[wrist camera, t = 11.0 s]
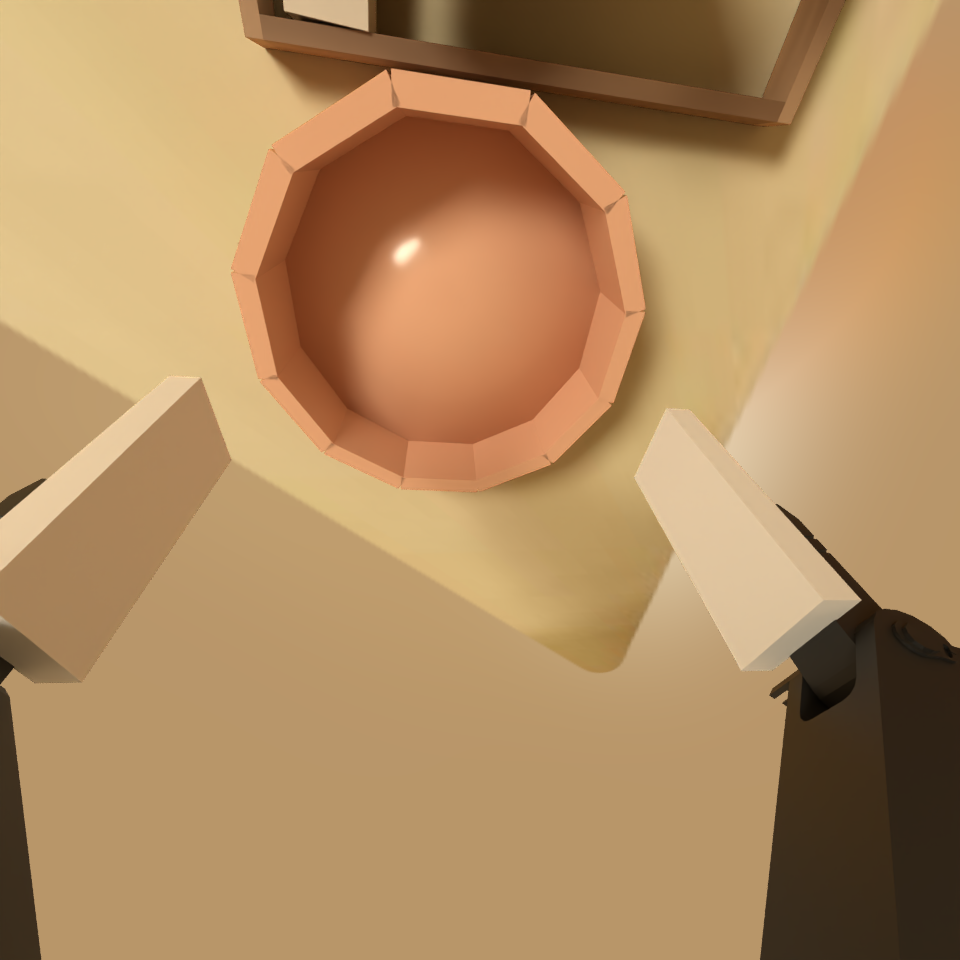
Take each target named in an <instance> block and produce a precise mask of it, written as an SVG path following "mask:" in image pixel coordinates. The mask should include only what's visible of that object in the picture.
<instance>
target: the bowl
mask: <svg viewBox="0 0 960 960" xmlns="http://www.w3.org/2000/svg"><path fill="white" fill-rule="evenodd" d="M530 93H531V90H525V89H519V88H512V87H506V86H500V85H493V84H487V83H481V82H474V81H468V80H462V79H455V78H449V77H443V76H437V75H430V74H424V73H418V72H411V71H405V70H399V69H392V68H391V76H390V74H389V73H388V71H387V70H384V71H383V72H381V73H380V74H378V75H377V76H375V77H374V78H372V79H371V80H369V81H368V82H366V83H365V84H363V85H362V86H360V87H359V88H357V89H356V90H354V91H353V92H351V93H350V94H348V95H347V96H345V97H343V98H342V99H340V100H339V101H337V102H336V103H334V104H333V105H331V106H330V107H328V108H327V109H325V110H324V111H322V112H321V113H319V114H318V115H316V116H315V117H313V118H312V119H310V120H309V121H307V122H306V123H304V124H303V125H301V126H300V127H298V128H297V129H295V130H293V131H292V132H290V133H289V134H287V135H286V136H284V137H283V138H281V139H280V140H278V141H277V142H275V143H274V144H272V147H273V148H274V149H269V150H268V153H267V156H266V159H265V162H264V166H263V169H262V172H261V175H260V178H259V181H258V185H257V188H256V191H255V194H254V197H253V200H252V204H251V207H250V210H249V213H248V216H247V219H246V223H245V226H244V229H243V232H242V235H241V238H240V242H239V245H238V248H237V251H236V254H235V257H234V261H233V264H232V267H231V269H232V270H234V271H233V272H232V273H231V275H232V279H233V283H234V287H235V291H236V294H237V298H238V302H239V306H240V310H241V314H242V318H243V321H244V325H245V329H246V333H247V337H248V341H249V345H250V349H251V352H252V356H253V360H254V364H255V368H256V372H257V376H258V379H262V380H261V381H260V382H261V383H262V385H263V386H264V387H265V388H266V389H267V390H268V391H269V393H270V394H271V395H272V396H273V397H274V398H275V399H276V401H277V402H278V403H279V404H280V405H281V406H282V407H283V409H284V410H285V411H286V412H287V413H288V414H289V415H290V417H291V418H292V419H293V420H294V421H295V422H296V423H297V425H298V426H299V427H300V428H301V429H302V430H303V431H304V433H305V434H306V435H307V436H308V437H309V438H310V439H311V441H312V442H313V443H314V444H315V445H316V446H317V447H318V449H319V450H320V451H321V452H323V451H325V453H324V454H325V455H327V456H330V457H332V458H334V459H336V460H338V461H340V462H343V463H345V464H347V465H349V466H351V467H353V468H355V469H358V470H360V471H362V472H364V473H366V474H368V475H370V476H373V477H375V478H377V479H379V480H381V481H383V482H385V483H388V484H390V485H392V486H394V487H396V488H399V487H400V486H401V489H410V490H436V491H461V492H477V490H478V489H479V491H483V490H486V489H488V488H491V487H494V486H496V485H499V484H502V483H504V482H507V481H509V480H512V479H515V478H517V477H520V476H523V475H525V474H528V473H531V472H533V471H536V470H539V469H541V468H544V467H546V466H549V465H551V463H550V461H551V462H552V463H554V462H555V461H556V460H557V459H558V458H559V457H560V456H561V455H562V454H563V453H564V452H565V451H566V450H567V449H568V448H569V447H570V446H571V445H572V444H573V443H574V442H575V441H576V440H577V439H578V438H579V437H580V436H581V435H582V434H583V433H585V432H586V431H587V430H588V429H589V428H590V427H591V426H592V425H593V424H594V423H595V422H596V421H597V420H598V419H599V418H600V417H601V416H602V415H603V414H604V413H605V412H606V411H607V410H608V409H609V408H610V407H611V406H612V405H611V403H614V400H615V397H616V395H617V392H618V389H619V386H620V383H621V380H622V378H623V375H624V372H625V369H626V366H627V363H628V360H629V358H630V355H631V352H632V349H633V346H634V343H635V340H636V338H637V335H638V332H639V329H640V326H641V323H642V321H643V318H644V315H645V312H644V311H643V310H644V309H646V308H645V302H644V296H643V290H642V284H641V277H640V271H639V265H638V259H637V253H636V247H635V241H634V235H633V229H632V223H631V217H630V211H629V205H628V199H627V196H626V195H623V194H624V193H625V191H624V190H623V189H622V188H621V187H620V185H619V184H618V183H617V182H616V181H615V180H614V179H613V178H612V177H611V176H610V174H609V173H608V172H607V171H606V170H605V169H604V168H603V167H602V166H601V165H600V163H599V162H598V161H597V160H596V159H595V158H594V157H593V156H592V155H591V154H590V153H589V151H588V150H587V149H586V148H585V147H584V146H583V145H582V144H581V143H580V142H579V140H578V139H577V138H576V137H575V136H574V135H573V134H572V133H571V132H570V131H569V129H568V128H567V127H566V126H565V125H564V124H563V123H562V122H561V121H560V120H559V118H558V117H557V116H556V115H555V114H554V113H553V112H552V111H551V110H550V109H549V107H548V106H547V105H546V104H545V103H544V102H543V101H542V100H541V99H540V98H539V96H538V95H537V94H536V93H534V94H533V95H532V96H530ZM610 402H611V403H610Z"/></svg>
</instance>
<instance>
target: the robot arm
mask: <svg viewBox="0 0 960 960" xmlns="http://www.w3.org/2000/svg"><path fill="white" fill-rule="evenodd" d="M230 461H231V458H230V455H229V452H228V450H227V447H226V444H225V442H224V439H223V436H222V433H221V431H220V428H219V425H218V423H217V420H216V417H215V414H214V412H213V409H212V406H211V404H210V401H209V398H208V396H207V393H206V390H205V387H204V385H203V382H202V379H201V377H186V376H171V375H169V376H168V377H167V378H166V379H165V380H163V381H162V382H161V383H160V384H159V385H158V386H156V387H155V388H154V389H153V390H152V391H150V392H149V393H148V394H147V395H146V396H145V397H143V398H142V399H141V400H140V401H139V402H138V403H136V404H135V405H134V406H133V407H132V408H131V409H129V410H128V411H127V412H126V413H125V414H124V415H122V416H121V417H120V418H119V419H118V420H116V421H115V422H114V423H113V424H112V425H110V426H109V427H108V428H107V429H106V430H105V431H103V432H102V433H101V434H100V435H99V436H98V437H96V438H95V439H94V440H93V441H92V442H90V443H89V444H88V445H87V446H86V447H85V448H84V449H82V450H81V451H80V452H79V453H78V454H76V455H75V456H74V457H73V458H72V459H71V460H69V461H68V462H67V463H66V464H65V465H63V466H62V467H61V468H60V469H59V470H58V471H56V472H55V473H54V474H53V475H52V476H51V477H49V478H48V479H40V480H39V481H36V482H34V483H32V484H31V485H29V486H27V487H25V488H23V489H21V490H19V491H17V492H15V493H13V494H11V495H10V496H8V497H7V498H6V499H5V500H3V501H2V502H1V503H0V684H1V683H2V681H3V680H4V679H5V678H6V677H7V675H8V674H9V673H10V672H11V670H12V669H13V668H14V669H16V670H17V671H18V672H20V673H21V674H23V675H24V676H25V677H27V678H28V679H30V680H31V681H32V682H34V683H73V682H74V683H76V682H83V680H84V679H85V677H86V675H87V674H88V673H89V671H90V670H91V668H92V667H93V665H94V664H95V662H96V661H97V659H98V658H99V656H100V655H101V653H102V652H103V650H104V649H105V647H106V646H107V644H108V643H109V641H110V640H111V638H112V637H113V635H114V634H115V633H116V631H117V630H118V628H119V627H120V625H121V624H122V622H123V621H124V619H125V617H126V616H127V615H128V613H129V612H130V610H131V609H132V607H133V605H134V604H135V603H136V601H137V600H138V598H139V597H140V595H141V594H142V592H143V591H144V589H145V588H146V586H147V585H148V583H149V582H150V580H151V579H152V577H153V576H154V575H155V573H156V571H157V570H158V568H159V567H160V565H161V564H162V563H163V561H164V560H165V558H166V557H167V555H168V554H169V552H170V551H171V549H172V548H173V546H174V545H175V543H176V542H177V540H178V539H179V537H180V536H181V534H182V533H183V531H184V530H185V528H186V527H187V525H188V524H189V522H190V521H191V519H192V518H193V516H194V515H195V514H196V512H197V511H198V509H199V508H200V506H201V505H202V503H203V502H204V500H205V499H206V497H207V496H208V494H209V493H210V491H211V490H212V488H213V487H214V485H215V484H216V482H217V481H218V479H219V478H220V476H221V475H222V473H223V472H224V470H225V469H226V467H227V466H228V464H229V463H230ZM634 478H635V480H636V482H637V484H638V486H639V487H640V489H641V491H642V493H643V495H644V496H645V498H646V500H647V502H648V504H649V505H650V507H651V509H652V511H653V513H654V515H655V516H656V518H657V520H658V522H659V524H660V525H661V527H662V529H663V531H664V533H665V534H666V536H667V538H668V540H669V542H670V543H671V545H672V547H673V549H674V551H675V552H676V554H677V556H678V558H679V560H680V561H681V563H682V565H683V567H684V569H685V570H686V572H687V574H688V576H689V578H690V579H691V581H692V583H693V585H694V586H695V588H696V590H697V592H698V594H699V596H700V597H701V599H702V601H703V603H704V605H705V606H706V608H707V610H708V612H709V614H710V616H711V617H712V619H713V621H714V623H715V624H716V626H717V628H718V630H719V632H720V634H721V635H722V637H723V639H724V641H725V643H726V644H727V646H728V648H729V650H730V652H731V653H732V655H733V657H734V659H735V661H736V662H737V664H738V666H739V668H740V670H741V671H762V670H763V671H767V670H774V669H775V668H776V667H778V666H779V665H780V664H781V663H782V662H784V661H785V660H786V659H788V658H789V657H791V659H792V660H793V662H794V663H795V665H796V666H797V668H798V670H797V671H796V672H794V673H793V674H792V675H790V676H789V677H787V678H786V679H785V680H784V681H782V682H781V683H779V684H778V685H777V686H775V687H774V688H773V689H772V691H771V693H770V696H771V697H773V698H774V699H775V698H776V697H778V696H779V695H781V694H782V693H783V692H785V691H786V690H788V691H789V692H788V699H787V700H785V701H784V702H783V704H784V705H786V706H787V710H786V719H785V729H784V738H783V748H782V757H781V767H780V777H779V786H778V795H777V805H776V814H775V824H774V833H773V843H772V853H771V862H770V871H769V881H768V890H767V900H766V909H765V919H764V929H763V938H762V947H761V957H760V960H960V648H957V647H953V646H951V645H950V643H949V642H948V641H947V640H946V639H945V638H944V637H943V636H941V635H940V634H939V633H938V632H936V631H935V630H934V629H933V628H932V627H930V626H928V625H927V624H925V623H923V622H922V621H920V620H919V619H917V618H915V617H913V616H911V615H908V614H906V613H903V612H900V611H897V610H890V609H881V607H879V606H878V604H877V603H876V602H875V601H874V600H873V599H872V598H871V597H870V596H869V595H868V594H867V593H866V592H865V591H864V589H863V588H862V587H861V586H860V585H859V584H858V583H857V582H856V581H855V580H854V579H853V578H852V576H851V575H850V574H849V573H848V572H847V571H846V570H845V569H844V568H843V567H842V566H841V565H840V563H839V562H838V561H837V560H836V559H835V558H834V557H833V556H832V555H831V554H830V553H826V550H827V549H826V548H825V547H824V546H823V545H822V544H821V543H820V542H819V541H818V540H817V539H814V538H813V537H814V535H812V533H811V532H810V531H809V530H808V529H807V528H806V527H805V526H804V525H803V524H802V522H800V520H799V519H797V518H796V517H795V516H793V515H792V514H790V513H789V512H788V511H786V510H785V509H783V508H782V507H781V506H779V505H778V504H774V503H773V501H772V500H771V499H770V498H769V497H768V496H767V495H766V494H765V493H764V491H762V489H761V488H760V487H759V486H758V485H757V484H756V483H755V481H754V480H753V479H752V478H751V477H750V476H749V475H748V474H747V473H746V472H745V471H744V469H743V468H742V467H741V466H740V465H739V464H738V463H737V461H736V460H735V459H734V458H733V457H732V456H731V455H730V454H729V453H728V451H727V450H726V449H725V448H724V447H723V446H722V445H721V444H720V443H719V441H718V440H717V439H716V438H715V437H714V436H713V435H712V434H711V433H710V431H709V430H708V429H707V428H706V427H705V426H704V425H703V424H702V423H701V421H700V420H699V419H698V418H697V417H696V416H695V415H694V414H693V413H692V411H691V410H689V409H673V408H666V410H665V412H664V414H663V416H662V418H661V421H660V423H659V425H658V427H657V429H656V431H655V433H654V436H653V438H652V440H651V442H650V444H649V446H648V449H647V451H646V453H645V455H644V457H643V459H642V461H641V464H640V466H639V468H638V470H637V472H636V474H635V477H634ZM0 960H41V954H40V946H39V937H38V929H37V921H36V912H35V905H34V896H33V888H32V879H31V871H30V864H29V854H28V846H27V838H26V829H25V821H24V813H23V805H22V796H21V788H20V780H19V771H18V763H17V755H16V746H15V739H14V731H13V722H12V713H11V705H10V697H9V695H8V694H7V692H6V690H5V689H4V688H3V687H2V686H0Z"/></svg>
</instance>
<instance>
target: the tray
mask: <svg viewBox="0 0 960 960" xmlns="http://www.w3.org/2000/svg"><path fill="white" fill-rule="evenodd" d="M844 3H845V0H801V2H800V4H799V7H798V9H797V12H796V14H795V17H794V19H793V22H792V24H791V27H790V29H789V32H788V34H787V37H786V39H785V42H784V44H783V47H782V49H781V52H780V54H779V57H778V59H777V62H776V64H775V67H774V69H773V72H772V74H771V77H770V79H769V82H768V84H767V87H766V89H765V92H764V94H763V97H762V98H758V97H752V96H746V95H740V94H734V93H728V92H722V91H716V90H710V89H704V88H698V87H692V86H686V85H680V84H674V83H668V82H662V81H656V80H650V79H644V78H638V77H632V76H626V75H620V74H614V73H609V72H603V71H597V70H591V69H585V68H579V67H573V66H567V65H561V64H555V63H549V62H543V61H537V60H531V59H525V58H519V57H513V56H507V55H501V54H495V53H489V52H483V51H477V50H471V49H465V48H459V47H453V46H447V45H441V44H435V43H429V42H424V41H418V40H412V39H406V38H400V37H394V36H388V35H382V34H376V33H370V32H364V31H358V30H352V29H346V28H340V27H334V26H328V25H322V24H316V23H310V22H304V21H298V20H292V19H286V18H280V17H275V13H274V6H273V0H239V5H240V11H241V16H242V22H243V27H244V33H245V37H247V38H248V39H250V40H252V41H253V42H255V43H257V44H259V45H260V46H262V47H264V48H271V49H277V50H283V51H290V52H296V53H302V54H309V55H315V56H321V57H327V58H334V59H340V60H346V61H353V62H359V63H365V64H372V65H378V66H384V67H391V68H397V69H403V70H409V71H416V72H422V73H428V74H435V75H441V76H447V77H454V78H460V79H466V80H472V81H479V82H485V83H491V84H498V85H504V86H510V87H517V88H523V89H529V90H536V91H542V92H548V93H554V94H561V95H567V96H573V97H580V98H586V99H592V100H599V101H605V102H611V103H617V104H624V105H630V106H636V107H643V108H649V109H655V110H662V111H668V112H674V113H681V114H687V115H693V116H699V117H706V118H712V119H718V120H725V121H731V122H737V123H744V124H750V125H756V126H762V127H766V126H777V125H788V124H791V122H792V120H793V118H794V115H795V113H796V111H797V109H798V106H799V104H800V102H801V100H802V97H803V95H804V93H805V91H806V88H807V86H808V84H809V81H810V79H811V77H812V75H813V72H814V70H815V68H816V66H817V63H818V61H819V59H820V57H821V54H822V52H823V50H824V48H825V45H826V43H827V41H828V39H829V36H830V34H831V32H832V30H833V27H834V25H835V23H836V21H837V18H838V16H839V14H840V12H841V9H842V7H843V5H844Z"/></svg>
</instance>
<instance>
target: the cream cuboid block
mask: <svg viewBox="0 0 960 960" xmlns="http://www.w3.org/2000/svg"><path fill="white" fill-rule="evenodd" d="M283 5H284V11H285V12H286V13H287V14H289V15H290V16H291V17H292V18H293V19H294V20H298V21H304V22H310V23H316V24H322V25H328V26H334V27H340V28H346V29H352V30H358V31H364V32H370V33H376V0H283Z"/></svg>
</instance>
